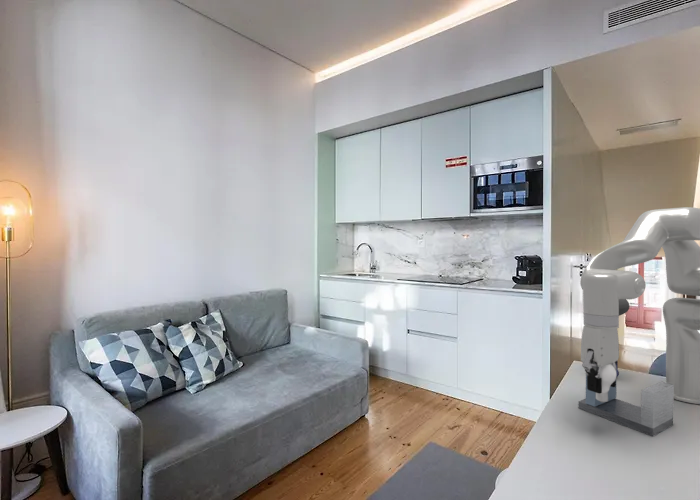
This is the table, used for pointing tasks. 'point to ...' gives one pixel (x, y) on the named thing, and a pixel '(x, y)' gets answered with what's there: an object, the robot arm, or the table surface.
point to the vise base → (640, 410)
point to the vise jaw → (592, 396)
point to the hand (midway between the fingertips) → (601, 387)
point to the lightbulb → (605, 381)
